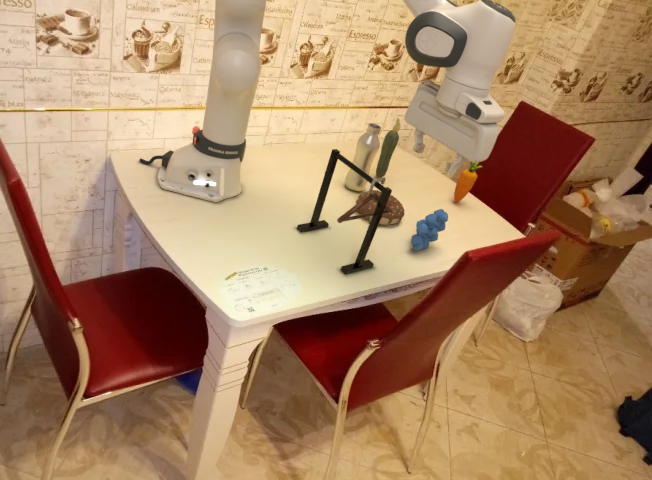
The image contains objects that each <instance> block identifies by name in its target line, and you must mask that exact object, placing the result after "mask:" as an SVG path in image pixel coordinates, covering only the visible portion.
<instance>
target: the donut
mask: <svg viewBox="0 0 652 480" xmlns="http://www.w3.org/2000/svg"><path fill="white" fill-rule="evenodd" d="M372 191H373V192H375V193H377V194H378V195H379V196H381V193H382V192H381V191H380V190H378V189H377V190H376V189H373V190H372ZM370 194H371V193H370V192H369V190H367V191H361V192H360V193H359V194H358V197H357V199H356V201H355V203H356V204H358V203H359V202H360V201H362V200H363V199H364V198H366V197H367V196H368V195H370ZM377 203H378V202H377V201H376V200H375V199H374V198H373V199H372V200H371V201H369V202H368V203H367V204H365V205H364V206H363V207H361V208H360V209H359V210H358V211H357V212H358V213H360V215H362V214H367V213H373V212H374V211H375V209H376V206H377ZM356 204H355V205H356ZM387 205H388V206H389V207H390V208H391V209H392V210H393V212H392V213H391V214H390V213H386V214H383V215H382V217H381V220H380V222H379V225H384V226H385V225H387V226H388V225H393V224H398V223H400V222H401V221H402V220H403V218H404V216H405V211H406V210H405V208H404V206H403V203H402V202H401V201H400V200H399V199H398V198H397V197H395V196H394V195H392V194H390V197H389V199H388V202H387ZM365 219H366V220H368V221H369V222H371V219H372V216H370V217H365Z"/></svg>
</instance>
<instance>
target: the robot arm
mask: <svg viewBox="0 0 652 480" xmlns="http://www.w3.org/2000/svg"><path fill="white" fill-rule="evenodd" d="M214 2H215V4H214V25H213V46H212V57H211V65H210V71H209V72H210V74H209V80H208V87H207V94H206V100H205V106H204V107H205V108H204V115H203V123H202V129H201V128H200V127H199V126H198V125H196V126H193V127H192V130H191V133H192V135H193V136H192V142H191V143H189V144H186V145H184V146H182V147H179V148H177V149H176V150H174V151H173V150H168V151H167V152H166V153H163V155H154V156H152V157H151V158H150V159H149V160H145V159H144V158H141V157H140V158H139V163H142V164H145V165H151V164H153V163H154V162H155V161H156V160H161V166H160V168H159V170H158V172H157V184H158V185H159V187H160V188H161V189H162V190H166V191H170V192H174V193H177V194H181V195H186V196H190V197H192V198H193V197H194V198H198V199H201V200H204V201H205V200H206V201H209V202H214V203H219V202H222V201H224V200H225V199H230V198H234V197H236V196H238V195H239V194H240V193H241V192H242V190H243V188H242V187H243V186H242V162H243V160H244V158H245V153H246V148H247V139H246V137H247V131H248V126H249V120H250V115H251V111H252V107H253V103H254V100H255V96H256V92H257V88H258V85H259V79H260V76H261V72H262V71H261V70H262V61H261V55H260V53H261V52H260V51H261V50H260V48H261V47H260V45H261V40H262V39H261V38H262V30H263V26H264V25H263V23H264V17H265V12H266V7H267V0H215V1H214ZM402 2H403V3H404V4H405V6H406V7H407V9H408V11H410V13H411V14H412V15H413V17H414V18H413V20H412V21H411V22H410V23H409V25H408V27H407V29H406V32H405V37H404V42H405V45H404V46H405V50H406V52H407V54H408V56H409V57H410V59H411V60H412V61H414V62H415V63H417V64H419V65H422V66H425V67H434V68H443V69H445V73H444V76H443V78H442V81H441V83H440V84H438V83H436V82H434V81H432V80H431V79H426V80H422V81H421V82H420V83H419V84H418V86H417V88H416V91H415V94H414V95H413V97H412V99H411V100H410V102H409V105H408V107H407V109H406V111H405V114H404V121H405V123H406V124H408V125H409V126H412V127H413V128H415V130H414V132H413V133H414V146H413V148H412V151H413V152H415V153H417V154H422V153H423V152H424V151H425V148H426V144H425V143H424V136H425V135H426V136H428V137H430V138H432V139H433V140H434V141H436V142H438V143H440V144H441V145H443V146H444V147H446V148H447V149H449V150H451V151H453V152H454V153H456V154H455V159H456V160H454V161H453V162H447V164H446V166H445V168H444V171H445V172H446V173H448V174H449V175H454V174H455V173H456V172H457V170H458V167H460V166H461V165H462V164H464V163H465V162H466V161H468V162H469V161H470V162H473V163H476V162H479V163H481V162H484V161H486V160H488V159H489V157H490V155H491V154H492V151H493V149H494V147H495V144H496V142H497V138H498V135H499V131H500V130H499V129H500V127H499V125H498V123H501V122H503V120H504V118H505V116H506V112H505V111H504V109H503V107H502V106H500V105H499V103H497V101H496V100H495V99H494V98H493V97H492V95H491V93H490V90H491V89H492V85H493V81H494V80H493V79H494V76H495V75H496V73H497V71H498V70H499V69H500V67H501V66H502V65H503V63H504V60H505V58H506V55H507V53H508V51H509V48H510V45H511V43H512V40H513V37H514V34H515V31H516V27H517V23H516V21H517V20H516V17H515V16H514V14H513V12H512V11H511V10H509V9H508V8H507V7H505V6H503V5H502V4H500V3H498V2H496V1H493V0H477V1H475V2H471V3H468V4H464V5H458V4H457V3H455V2H452V1H451V0H402Z"/></svg>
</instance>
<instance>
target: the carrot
mask: <svg viewBox="0 0 652 480" xmlns="http://www.w3.org/2000/svg"><path fill="white" fill-rule="evenodd" d="M479 163H480V162H476V163H473V162H471V161H470V163H469V165H470V166H469V168H465V169H463V170H461V172H460V174H459V176H458V179H457V181H456V184H455V188H454V193H453V200H454V204H457V203H459V202H461V201H462V200H463V199H464V198H465V197H466V196H467V195H468V194H469V192H470V191H471V190H472V188H473V186H474V185H475V182H476V181H477V179H478V174H477V172H476V170H478V169H482V168H483V166H482V165H479Z"/></svg>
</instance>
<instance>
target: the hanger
mask: <svg viewBox="0 0 652 480" xmlns="http://www.w3.org/2000/svg"><path fill="white" fill-rule="evenodd" d="M375 182H379V183H380V184H381V185H383V186H384V184H385V182H386V177H382V178H377V177H376V178H373V180H372V183H371V184H370V186H369V188H368V191H369V192H370V193H371V194H370V195H368V196H367V197H366V198H364V199H363V200H362V201H360V202H359V203H358V204H354V205H353V206H352V207H351V208H350V209H348V210H347V211H345V212H344V213H343V214H341V215H340V216H339V217H338V218H337V219H336V221H337V223H338V224H341V223H344V222H350V221H353V220H359V219H364V218H365V217H370V216H373V214H374V212H373V213H367V214H356V215H353V214H355V213H357V212H359V211H358V210H359V209H360V208H361V207H363V206H364V205H365V204H367V203H368V202H369V201H371V200H372V199H373V198H374V199H375V200H376V201H377V202H378V201H379V198H380V196H379V195H378V194H377V193H375V192H373V191H372V190H374V188H375V187H374V184H375ZM392 212H393V210H392V209H391V208H390V207H389V206H388V205H386V207H385V210H384V212H383V214H386V213H390V214H391V213H392ZM365 219H366V218H365Z"/></svg>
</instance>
